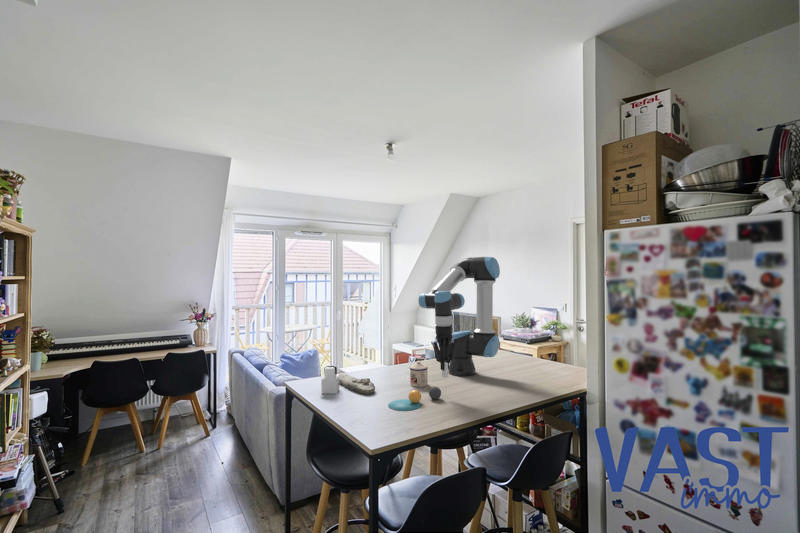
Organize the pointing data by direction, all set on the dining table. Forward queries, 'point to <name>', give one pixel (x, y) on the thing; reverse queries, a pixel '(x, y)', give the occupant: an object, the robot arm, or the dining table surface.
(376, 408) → the dining table surface
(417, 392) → the object ball
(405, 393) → the dining table surface
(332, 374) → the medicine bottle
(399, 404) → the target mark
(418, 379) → the teacup with lid
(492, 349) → the robot arm
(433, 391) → the dark grey ball
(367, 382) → the long grey stone
